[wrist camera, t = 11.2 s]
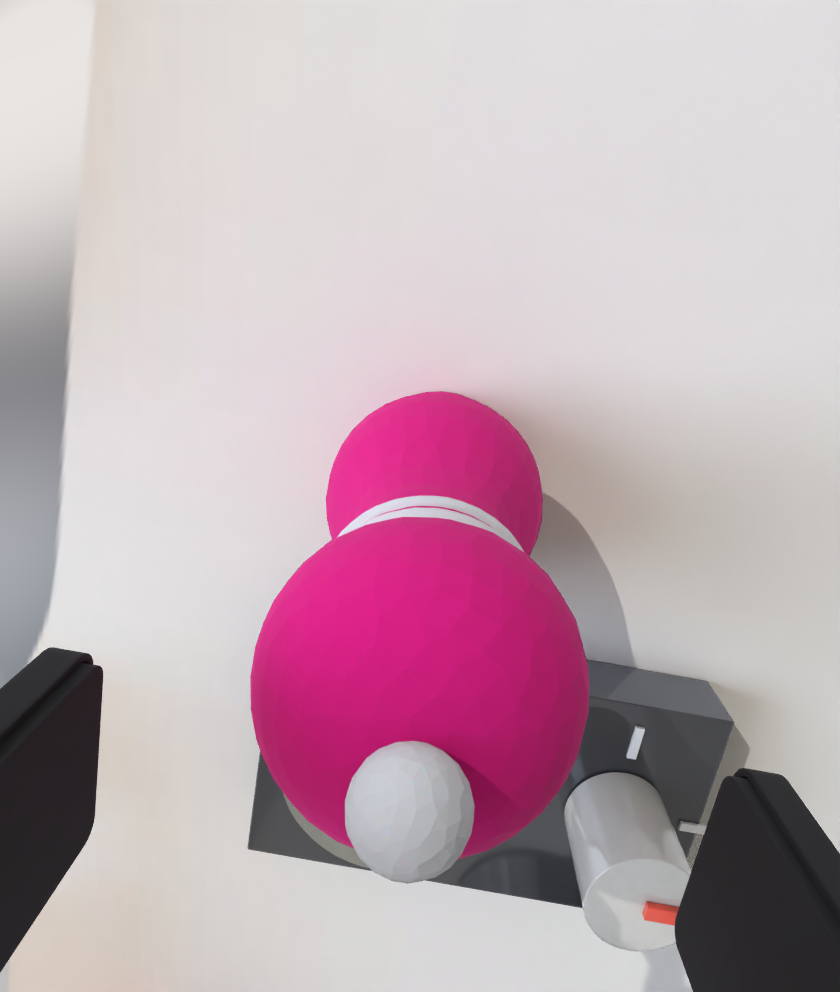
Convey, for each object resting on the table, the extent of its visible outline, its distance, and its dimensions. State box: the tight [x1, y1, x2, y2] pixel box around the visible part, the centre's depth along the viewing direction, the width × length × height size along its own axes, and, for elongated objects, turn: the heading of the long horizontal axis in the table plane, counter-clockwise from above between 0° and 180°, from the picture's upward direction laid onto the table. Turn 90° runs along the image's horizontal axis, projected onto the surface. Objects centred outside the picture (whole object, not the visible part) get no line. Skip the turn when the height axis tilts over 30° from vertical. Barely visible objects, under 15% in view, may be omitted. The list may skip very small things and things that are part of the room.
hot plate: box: [248, 660, 734, 908], centre depth 30 cm, size 19×10×3 cm, turn 80°
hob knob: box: [564, 772, 691, 951], centre depth 26 cm, size 4×4×5 cm
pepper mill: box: [251, 392, 589, 883], centre depth 18 cm, size 7×7×20 cm
